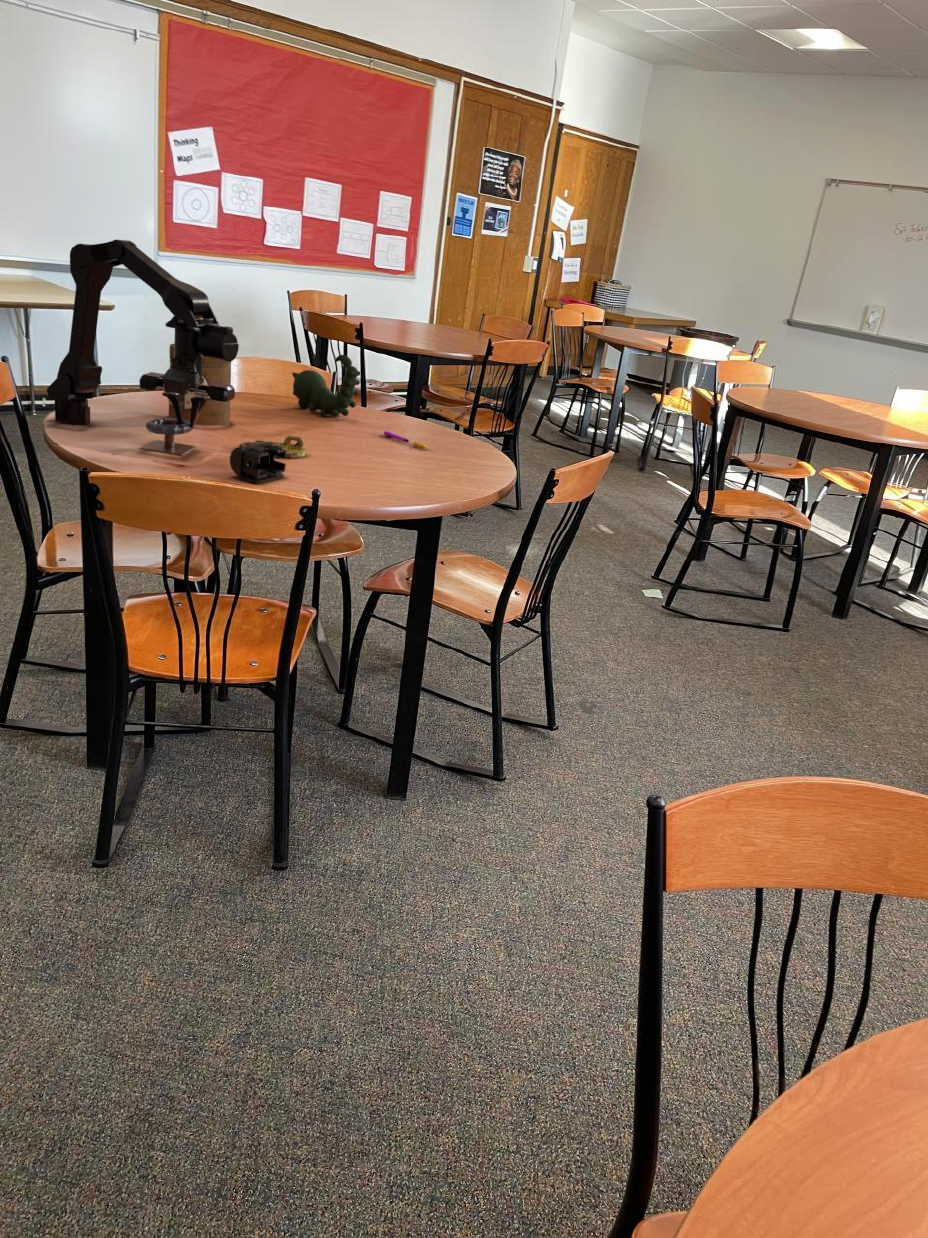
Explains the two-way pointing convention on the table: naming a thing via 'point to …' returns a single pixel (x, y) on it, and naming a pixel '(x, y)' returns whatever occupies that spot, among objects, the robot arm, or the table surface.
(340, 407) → the toy figurine
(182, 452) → the stand
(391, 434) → the purple paintbrush
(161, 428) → the ring
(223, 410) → the wooden container
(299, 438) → the seal
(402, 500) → the table surface
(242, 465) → the end cap
